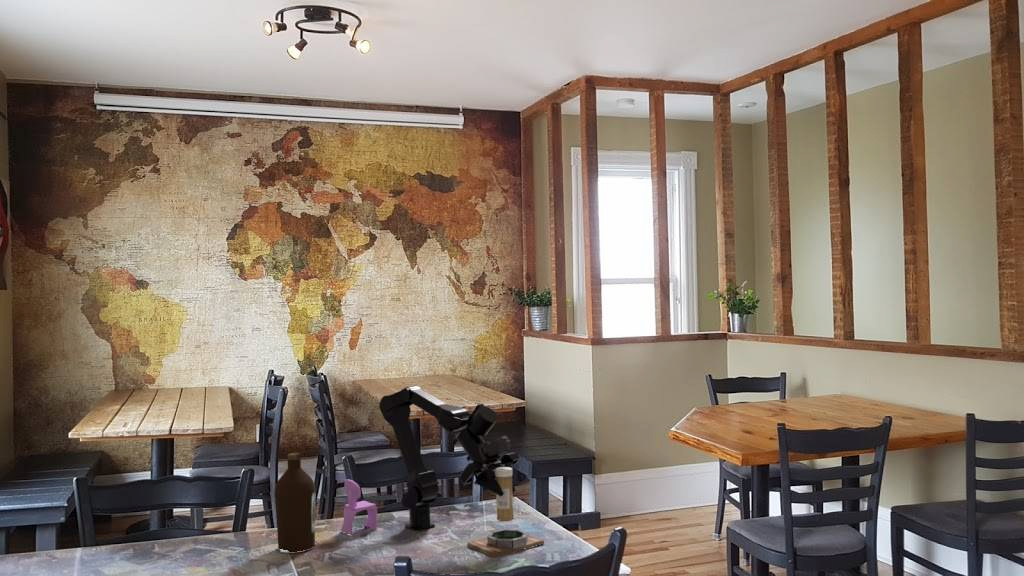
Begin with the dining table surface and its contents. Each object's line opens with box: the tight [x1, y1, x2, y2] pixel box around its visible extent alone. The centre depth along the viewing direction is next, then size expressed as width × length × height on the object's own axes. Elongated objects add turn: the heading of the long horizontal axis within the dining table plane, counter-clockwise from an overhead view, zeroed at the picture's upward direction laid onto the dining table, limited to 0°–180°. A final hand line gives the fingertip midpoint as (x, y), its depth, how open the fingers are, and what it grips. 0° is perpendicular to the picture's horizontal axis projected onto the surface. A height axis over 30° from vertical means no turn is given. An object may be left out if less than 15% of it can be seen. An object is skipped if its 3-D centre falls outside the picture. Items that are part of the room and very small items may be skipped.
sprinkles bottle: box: [494, 467, 515, 522], centre depth 221 cm, size 5×5×13 cm
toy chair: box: [340, 478, 378, 536], centre depth 239 cm, size 8×9×15 cm
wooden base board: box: [466, 534, 545, 558], centre depth 221 cm, size 12×16×1 cm
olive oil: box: [273, 452, 317, 552], centre depth 225 cm, size 11×11×25 cm
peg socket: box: [486, 528, 529, 548], centre depth 221 cm, size 10×10×2 cm
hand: (508, 493), depth 220 cm, fingers closed on sprinkles bottle, 4 cm apart
